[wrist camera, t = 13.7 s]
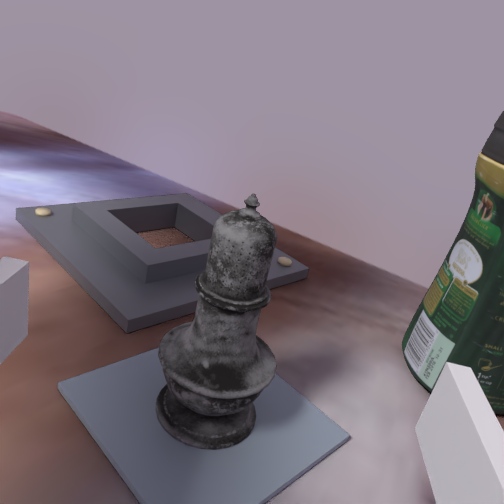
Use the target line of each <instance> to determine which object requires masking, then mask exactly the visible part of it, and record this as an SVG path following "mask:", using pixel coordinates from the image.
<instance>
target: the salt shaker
mask: <svg viewBox="0 0 504 504" xmlns="http://www.w3.org/2000/svg"><path fill="white" fill-rule="evenodd" d="M244 202H245V204H246V208H243V209H240V210H234V211H230V212H227V213H225V214H223V215H222V216H220V217H219V218H218V219H217V221H216V223H215V225H214V227H213V232H212V237H211V243H210V248H209V253H208V258H207V264H206V269H205V271H204V272H202V273H200V274H199V275H197V277H196V279H195V288H196V290H197V292H198V293H199V297H198V302H197V308H196V313H195V317H194V320H193V321H192V322H187V323H184V324H181V325H179V326H177V327H174V328H173V329H171V330H170V331H169V332H168V333H167V334H165V335H164V337H163V338H162V340H161V342H160V344H159V351H158V357H159V360H160V363H161V366H162V367H163V373H164V376H165V379H166V382H167V384H166V385H165V386H164V387H163V388H162V389H161V391H160V393H159V395H158V397H157V400H156V409H155V410H156V414H157V418H158V421H159V422H160V424H161V425H162V427H163V428H164V430H165V431H166V432H168V433H169V434H170V435H171V436H172V437H173V438H175V439H176V440H178V441H180V442H182V443H184V444H186V445H189V446H192V447H196V448H200V449H212V450H216V449H222V448H229V447H231V446H233V445H236V444H238V443H240V442H241V441H243V440H244V439H245V438H246V437H248V436H249V434H250V433H251V431H252V429H253V428H254V425H255V420H256V411H255V406H254V404H253V402H254V401H255V400H256V399H257V398H258V396H259V395H260V394H261V392H262V391H263V389H264V388H266V387H267V386H268V385H269V384H270V383H271V381H272V380H273V378H274V376H275V372H276V366H277V365H276V361H275V357H274V355H273V353H272V351H271V350H270V348H269V346H268V345H267V344H266V343H265V342H264V341H263V340H262V339H261V338H259V337H258V336H256V327H257V323H258V319H259V315H260V311H261V308H263V307H265V306H267V304H268V303H269V302H270V299H271V293H270V290H269V288H268V287H267V286H266V281H267V277H268V273H269V269H270V265H271V261H272V257H273V253H274V249H275V245H276V241H277V234H276V231H275V229H274V227H273V225H272V224H271V223H270V222H269V221H268V220H267V219H266V218H264V217H263V216H261V215H260V213H259V212H257V211H256V207H257V206H259V205H260V203H259V202H258V199H257V197H256V195H255V194H252V195H251V196H249V197H248V199H247V200H245V201H244Z"/></svg>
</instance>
